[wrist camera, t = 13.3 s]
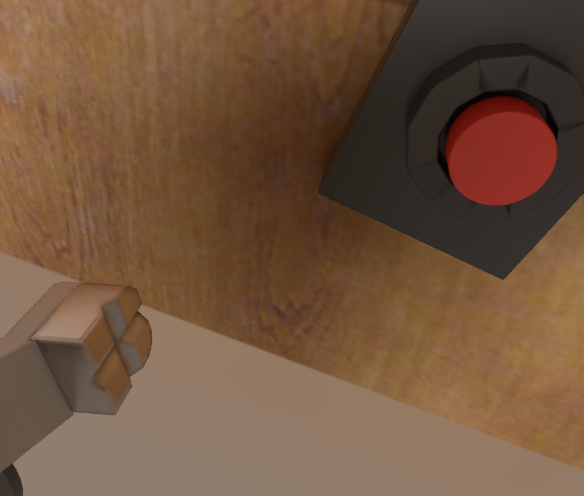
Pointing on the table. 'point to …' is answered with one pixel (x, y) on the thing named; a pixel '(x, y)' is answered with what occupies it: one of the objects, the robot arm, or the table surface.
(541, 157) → the button
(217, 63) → the table surface
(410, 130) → the button box
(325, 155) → the table surface
